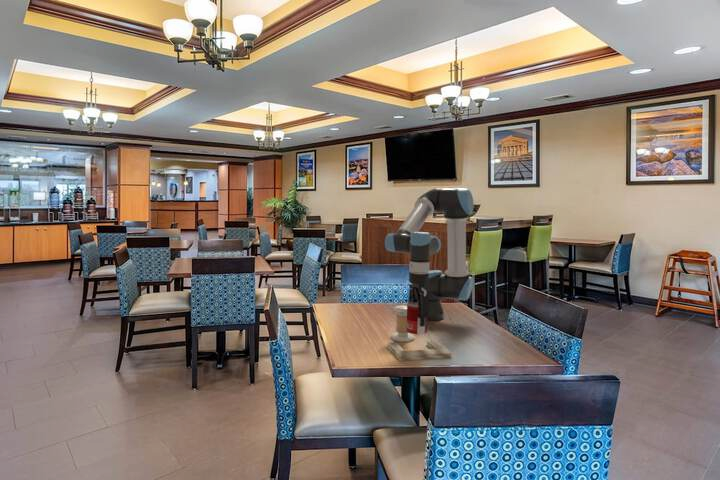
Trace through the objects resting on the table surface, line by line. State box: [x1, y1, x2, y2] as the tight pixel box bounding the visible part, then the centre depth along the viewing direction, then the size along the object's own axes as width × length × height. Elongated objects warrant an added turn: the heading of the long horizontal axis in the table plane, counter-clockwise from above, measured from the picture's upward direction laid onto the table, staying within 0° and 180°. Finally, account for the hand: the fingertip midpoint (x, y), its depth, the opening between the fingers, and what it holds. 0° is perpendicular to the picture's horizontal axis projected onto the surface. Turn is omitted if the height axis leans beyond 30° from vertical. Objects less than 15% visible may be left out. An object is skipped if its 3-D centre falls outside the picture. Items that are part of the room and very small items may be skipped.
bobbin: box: [390, 305, 416, 343], centre depth 188 cm, size 10×10×13 cm
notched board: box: [387, 339, 452, 362], centre depth 171 cm, size 20×15×2 cm
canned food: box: [406, 301, 428, 335], centre depth 172 cm, size 8×8×11 cm
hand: (416, 330), depth 173 cm, fingers closed on canned food, 8 cm apart
